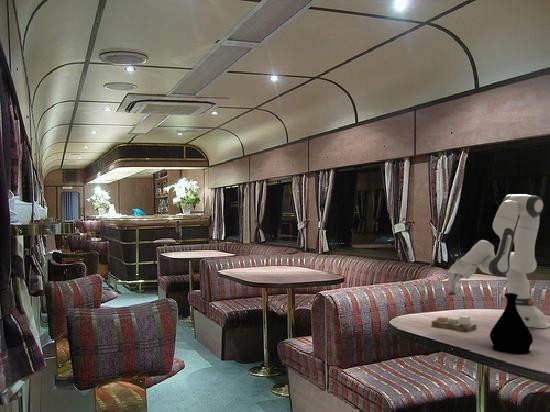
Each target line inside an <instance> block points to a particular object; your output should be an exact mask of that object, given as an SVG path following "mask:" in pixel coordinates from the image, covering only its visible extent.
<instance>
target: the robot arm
mask: <svg viewBox="0 0 550 412" xmlns="http://www.w3.org/2000/svg"><path fill="white" fill-rule="evenodd" d="M544 206H545V205H544V201H543V199H542V198H541V197H539V196H538V195H531V194H526V193H524V194H521V193H519V194H518V193H517V194H515V193H512V194H507V195H506V196H504V198H503V199H502V203H500V205H499V207H498V209H497V211H496V214H495V217H494V219H493V222H492V229H493V231H494V233H495V234H496V235H497V236H498V237H499V244H498V250H497V253H496V255H495V246H494V244H493V243H491V242H490V241H488V240H484V239H481V240H479V241H478V242H477V243H475V244H474V245H473V246H472V247H471V249H470V250H469V251H468V252H467V253H465V254H464V255H463V256H462V257H459V258H457V259H456V260H455V262H454V263H453V264H452V265H450V267H449V269H448V270H447V273H448V274H449V272H456V278H455V279H453V280H452V282H453V283H456V284H457V282H459V281H460V280H462V279H465V280H468V279H470V278H471V277H472V276H473V275H474V274H475V273H476V270H477V269H479V270H480V271H481V272H482V273H485V274H487V275H493V276H496V277H504V276H506V279H507V280H506V281H507V293H515V294H517V295H518V297H517V298H516V299H515V304H516V308H517V311H518V313H519V315H520V316H521V318H522V320H523V321H524V323H525V325H526V326H527V328H528V327H529V328H534V329H536V328H538V329H547V328H549V327H550V322H546V318H545V317H546V316H545V314H544V312H543V311H541V310H540V309H539V308H537V307H536V306H534V302H535V300H534V299H532V298H531V297H530V295H531V294H530V292H531V291H530V290H531V287H530V286H531V285H530V282H529V280H528V277H527V274H531V273H533V272H534V271H535V270H536V269H537V266H538V265H537V264H538V263H537V259H536V256H535V249H536V248H535V246H536V240H537V235H538V232H539V227H540V215H541V213H542V212H543V209H544ZM513 244H514V245H513ZM513 246H514V251H512V249H513ZM447 281H448V282H449V278H448V279H447Z"/></svg>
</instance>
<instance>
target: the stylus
mask: <svg viewBox="0 0 550 412" xmlns="http://www.w3.org/2000/svg"><path fill="white" fill-rule="evenodd" d="M455 278H456V272H449V273H448V279H449V281H448V292H447V293H448V295H449V296H456V290H457V289H456V287H457V282H456V283H453V282H452V280H453V279H455Z"/></svg>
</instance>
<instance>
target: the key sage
mask: <svg viewBox="0 0 550 412" xmlns="http://www.w3.org/2000/svg"><path fill="white" fill-rule="evenodd" d="M448 320H449V323H454V324H458V323H459V321H460V318H456V317H450V318H449V317H448Z"/></svg>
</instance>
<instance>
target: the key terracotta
mask: <svg viewBox="0 0 550 412" xmlns="http://www.w3.org/2000/svg"><path fill="white" fill-rule="evenodd" d="M437 319H438V321H440V322H447V321H448V320H449V317H448V316H442V315H440V316H437Z"/></svg>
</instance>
